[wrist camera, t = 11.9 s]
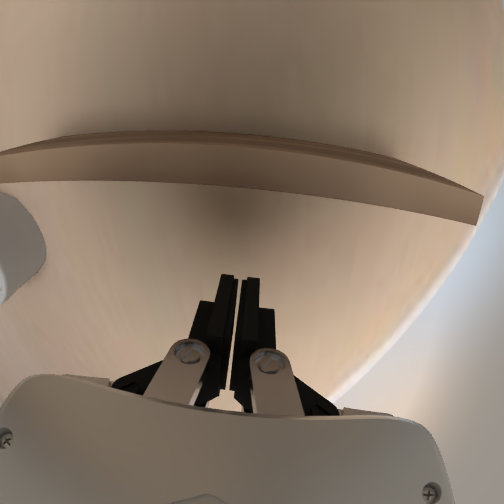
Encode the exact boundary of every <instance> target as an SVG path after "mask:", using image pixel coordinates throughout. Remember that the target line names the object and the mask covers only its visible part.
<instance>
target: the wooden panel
mask: <svg viewBox="0 0 504 504" xmlns="http://www.w3.org/2000/svg"><path fill="white" fill-rule="evenodd" d="M75 180H104V181H147V182H170V183H188V184H203V185H217V186H229V187H240V188H251V189H261V190H270V191H279V192H288V193H296V194H304V195H312V196H320V197H327V198H334V199H341V200H347V201H354V202H360V203H366V204H372V205H378V206H384V207H389V208H395V209H400V210H406V211H411V212H416V213H421V214H426V215H431V216H435V217H440V218H445V219H449V220H454V221H458V222H462V223H467V224H471V225H475V226H476V224H477V221H478V217H479V214H480V210H481V206H482V202H483V198H484V196H482V195H480V194H478V193H476V192H474V191H472V190H470V189H468V188H466V187H464V186H462V185H459V184H457V183H455V182H453V181H451V180H448V179H446V178H444V177H441V176H439V175H437V174H434V173H432V172H429V171H427V170H424V169H422V168H419V167H417V166H414V165H412V164H409V163H406V162H403V161H401V160H398V159H395V158H391V157H387V156H383V155H378V154H374V153H369V152H365V151H360V150H355V149H350V148H345V147H339V146H334V145H328V144H322V143H316V142H309V141H302V140H295V139H287V138H279V137H270V136H261V135H250V134H238V133H224V132H204V131H126V132H108V133H94V134H82V135H73V136H64V137H58V138H53V139H49V140H44V141H40V142H35V143H31V144H27V145H23V146H19V147H16V148H12V149H8V150H5V151H1V152H0V183H15V182H35V181H75Z"/></svg>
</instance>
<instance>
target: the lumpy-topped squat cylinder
mask: <svg viewBox="0 0 504 504" xmlns="http://www.w3.org/2000/svg"><path fill="white" fill-rule="evenodd" d="M45 259H46V246H45V241H44V238H43V236H42V233H41V231H40V229H39V227H38V225H37V223H36V222H35V220H34V218H33V217H32V215H31V214H30V213H29V212H28V210H27V209H26V208H25V207H24V206H23V205H22V204H21V203H20V202H19V201H18V200H17V199H16V198H15V197H13V196H11V195H8V194H5V193H1V192H0V305H2V304H3V303H4V302H6V301H7V300H8V299H9V298H10V297H11V296H12V295H13V294H14V293H15V292H16V291H17V290H18V289H19V288H20V287H21V286H22V285H23V284H24V283H26V282H27V281H28V280H29V279H30V278H31V277H32V276H33V275H34V274H35V273H37V272H38V271H39V270H40V269H41V267H42V266H43V264H44V262H45Z"/></svg>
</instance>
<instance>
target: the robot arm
mask: <svg viewBox="0 0 504 504" xmlns="http://www.w3.org/2000/svg"><path fill="white" fill-rule="evenodd" d="M237 288H238V279H234V275H227V274H222V275H221V278H220V282H219V286H218V290H217V294H216V298H215V302H209V301H200V303H199V306H198V309H197V312H196V315H195V318H194V321H193V325H192V328H191V331H190V334H189V337H188V339H183V340H179V341H178V342H176V343H174V344H173V346H172V347H171V348H170V350H169V352H168V353H167V355H166V357H165V358H164V360H162V361H160V362H157V363H155V364H153V365H150V366H148V367H145V368H143V369H141V370H138V371H136V372H133V373H131V374H128V375H126V376H123V377H121V378H119V379H117V380H116V381H115V382H113V381H110V379H108V378H96V377H86V376H77V375H69V374H65V375H55V374H40V375H33V376H29V377H27V378H25V379H24V380H22V381H21V382H20V383H19V384H18V385H17V386H16V387H15V388H14V389H13V390H12V392H11V393H10V394H9V395H8V397H7V398H6V400H5V401H4V403H3V404H2V406H1V408H0V504H455V503H454V498H453V493H452V489H451V485H450V481H449V478H448V474H447V471H446V468H445V465H444V461H443V459H442V456H441V454H440V451H439V448H438V446H437V444H436V442H435V440H434V438H433V437H432V435H431V434H430V432H429V431H428V430H427V429H426V428H425V427H424V426H422V425H421V424H419V423H416V422H414V421H411V420H408V419H403V418H399V417H394V416H393V415H390V414H387V413H378V412H371V411H364V410H357V409H350V408H345V407H344V408H343V410H341V409H337V408H336V406H334V405H333V404H332V403H331V402H330V401H328V400H327V399H325V398H324V397H323V396H321V395H320V394H318V393H317V392H316V391H314V390H313V389H312V388H310V387H309V386H308V385H306V384H305V383H304V382H302V381H301V380H300V379H298V378H297V377H296V376H294V375H293V372H292V368H291V365H290V361H289V359H288V357H287V356H286V355H285V354H284V353H282V352H280V351H279V350H276V336H275V312H274V309H267V308H259V289H260V278H252V277H247V280H242V286H241V294H240V302H239V310H238V317H237V325H236V333H235V342H234V351H233V361H232V370H231V380H230V389H229V390H232V391H235V392H234V398H235V399H236V400H237V401H238V402H239V403H240V404H241V405H242V412H236V411H227V410H219V409H212V408H208V406H209V401H210V400H212V399H214V398H215V397H217V396H219V393H220V389H223V390H225V387H226V380H227V372H228V365H229V357H230V350H231V342H232V335H233V327H234V317H235V307H236V298H237Z"/></svg>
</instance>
